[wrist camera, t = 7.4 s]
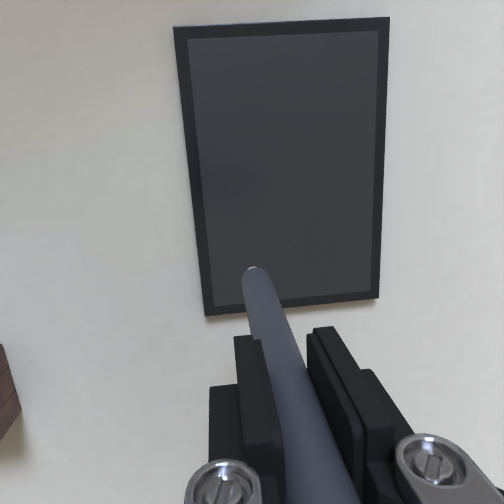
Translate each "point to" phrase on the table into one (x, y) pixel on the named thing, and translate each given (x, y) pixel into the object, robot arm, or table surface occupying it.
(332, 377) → the robot arm
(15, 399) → the pen stand
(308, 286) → the tablet
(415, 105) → the table surface
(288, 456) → the stylus
